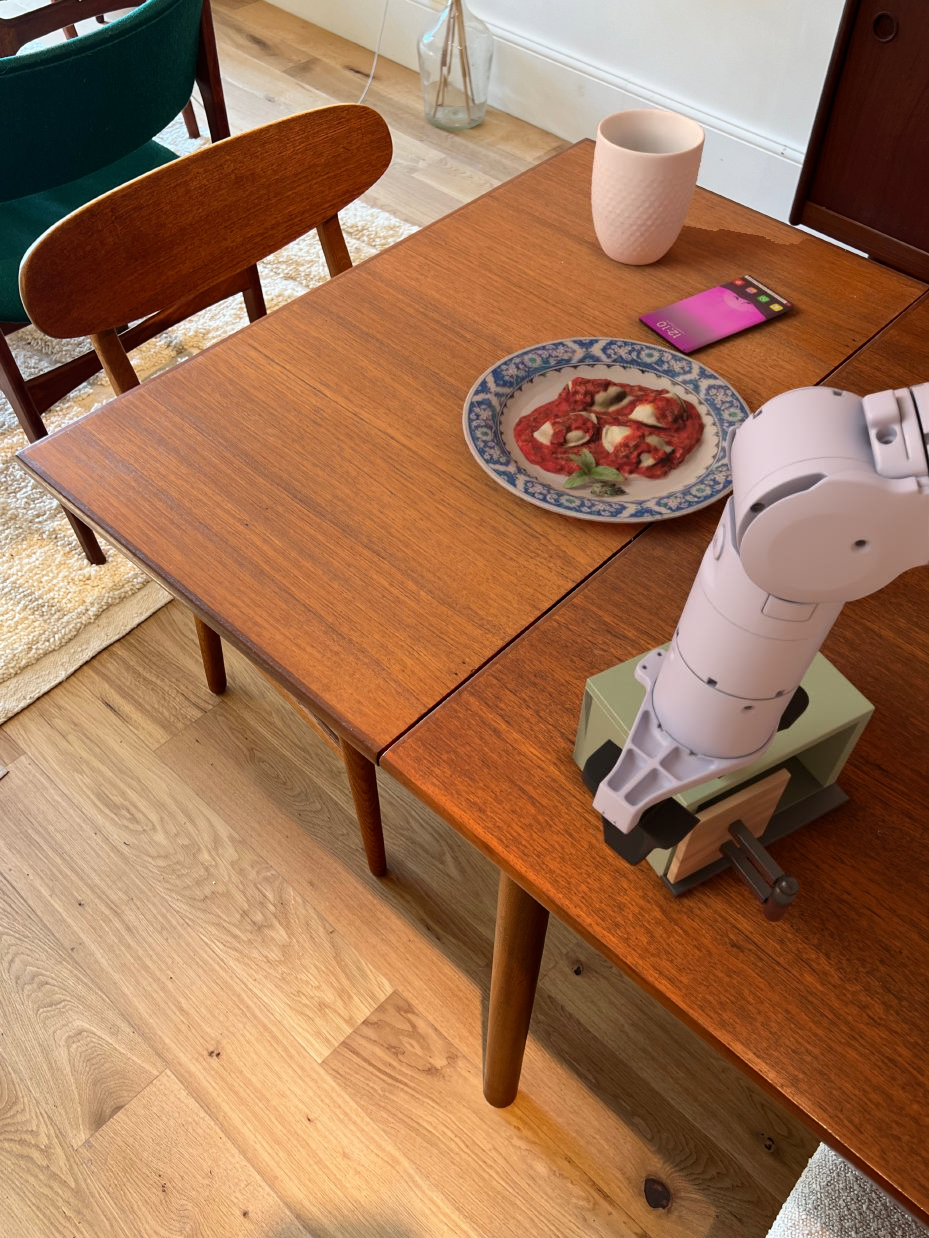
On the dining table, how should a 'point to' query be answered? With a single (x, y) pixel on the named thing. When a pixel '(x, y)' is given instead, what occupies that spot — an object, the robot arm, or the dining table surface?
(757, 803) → the sliding door
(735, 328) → the smartphone
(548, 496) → the ceramic plate
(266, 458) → the dining table surface
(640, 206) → the mug
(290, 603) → the dining table surface
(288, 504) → the dining table surface
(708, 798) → the cupboard
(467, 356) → the dining table surface
